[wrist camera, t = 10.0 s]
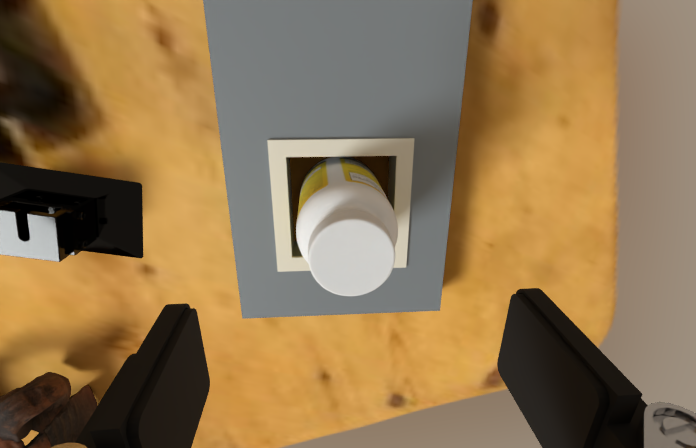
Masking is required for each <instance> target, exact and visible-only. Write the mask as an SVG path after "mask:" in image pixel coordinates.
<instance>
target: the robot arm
mask: <svg viewBox="0 0 696 448" xmlns="http://www.w3.org/2000/svg"><path fill="white" fill-rule="evenodd" d="M497 364H498V371H499V373H500V376H501V377H502V379H503V381H504V382H505V384H506V386H507V388H508V389H509V391H510V393H511V394H512V396H513V397H514V400H515V401H516V403H517V405H518V406H519V408H520V410H521V411H522V413H523V415H524V417H525V418H526V420H527V422H528V424H529V425H530V427H531V429H532V431H533V432H534V434H535V435H536V437H537V439H538V441H539V443H540V444H541V446H542V448H696V413H694V412H692V411H690V410H687V409H685V408H683V407H680V406H677V405H674V404H671V403H663V402H657V403H651V404H650V405H647V404H646V403H645V402H644V401H643V400H642V399H641V396H642V393H641V392H640V391H639V390H638V389H637V388H636V387H635V386H634V385H633V384H632V383H631V382H630V381H629V380H628V379H627V378H626V377H625V376H624V375H623V374H622V373H621V372H620V371H619V370H618V368H617V367H616V366H615V365H614V364H613V363H612V362H611V361H610V360H609V359H608V358H607V357H606V356H605V355H604V354H603V353H602V352H601V351H600V350H599V349H598V348H597V347H596V346H595V345H594V344H593V343H592V342H591V341H590V340H589V339H588V338H587V337H586V335H585V334H584V333H583V332H582V331H581V330H580V329H579V328H578V327H577V326H576V325H575V324H574V323H573V322H572V321H571V320H570V319H569V318H568V317H567V316H566V315H565V314H564V313H563V312H562V311H561V310H560V309H559V308H558V307H557V306H556V305H555V304H554V302H553V301H552V300H551V299H550V298H549V297H548V296H547V295H546V294H545V293H544V292H543V291H542V290H540V289H538V288H532V289H519V290H518V291H517V292H516V294H513V295H512V296H511V300H510V304H509V309H508V314H507V319H506V324H505V329H504V333H503V338H502V343H501V348H500V353H499V357H498V363H497ZM209 387H210V379H209V373H208V368H207V363H206V358H205V352H204V347H203V342H202V337H201V331H200V326H199V321H198V316H197V311H196V309H194V308H193V309H190V306H189V305H188V304H168V305H166V306H165V307H164V308H163V310H162V312H161V313H160V315H159V317H158V318H157V320H156V322H155V323H154V325H153V326H152V328H151V330H150V331H149V333H148V335H147V336H146V338H145V340H144V341H143V343H142V345H141V346H140V348H139V350H138V351H137V353H136V354H132V355H130V356H129V357H128V358H127V360H126V361H125V363H124V364H123V366H122V367H121V369H120V371H119V372H118V374H117V376H116V377H115V379H114V380H113V382H112V384H111V385H110V387H109V388H108V390H107V392H106V393H105V395H104V396H103V398H102V400H101V401H100V403H99V404H98V406H97V408H96V409H95V411H94V412H93V414H92V416H91V417H90V419H89V421H88V422H87V424H86V425H85V427H84V429H83V430H82V432H81V433H80V435H79V437H78V438H77V440H76V441H75V443H64V444H60V445H55V446H53V447H51V448H191V446H192V443H193V440H194V437H195V434H196V430H197V427H198V424H199V421H200V418H201V415H202V411H203V408H204V405H205V402H206V399H207V396H208V392H209Z"/></svg>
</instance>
